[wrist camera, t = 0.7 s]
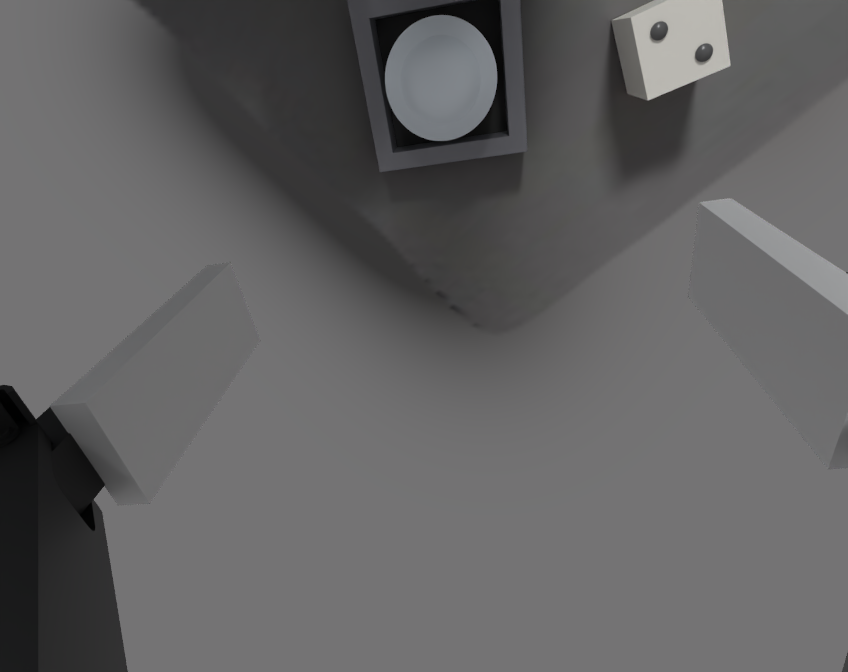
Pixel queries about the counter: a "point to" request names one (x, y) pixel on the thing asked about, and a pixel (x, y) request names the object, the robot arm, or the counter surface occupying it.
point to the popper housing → (364, 9)
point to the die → (670, 45)
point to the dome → (441, 77)
